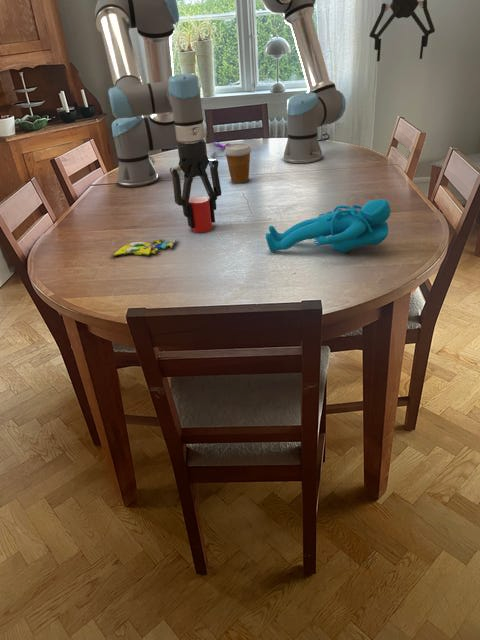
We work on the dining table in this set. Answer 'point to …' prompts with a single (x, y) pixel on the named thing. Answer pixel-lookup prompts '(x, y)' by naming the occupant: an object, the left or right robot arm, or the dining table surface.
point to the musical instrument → (220, 148)
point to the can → (201, 214)
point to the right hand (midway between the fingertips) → (399, 59)
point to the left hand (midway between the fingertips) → (201, 223)
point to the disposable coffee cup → (238, 162)
